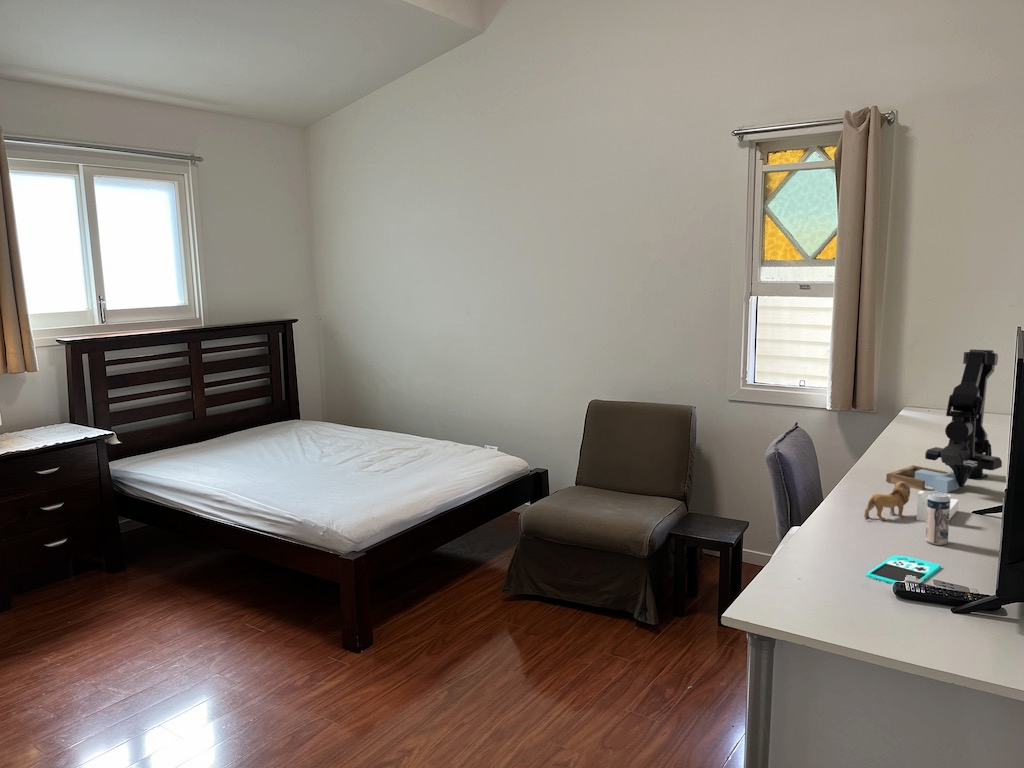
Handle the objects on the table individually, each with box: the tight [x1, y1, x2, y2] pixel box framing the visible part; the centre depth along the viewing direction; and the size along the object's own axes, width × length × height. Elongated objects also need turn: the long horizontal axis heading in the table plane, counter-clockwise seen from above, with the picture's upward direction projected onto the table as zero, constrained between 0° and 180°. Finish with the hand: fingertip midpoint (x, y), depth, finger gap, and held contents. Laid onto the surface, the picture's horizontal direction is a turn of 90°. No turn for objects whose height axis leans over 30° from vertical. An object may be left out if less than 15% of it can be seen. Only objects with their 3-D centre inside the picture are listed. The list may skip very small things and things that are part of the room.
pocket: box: [885, 465, 949, 491], centre depth 229 cm, size 15×11×2 cm
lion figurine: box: [863, 481, 911, 522], centre depth 199 cm, size 15×5×9 cm, turn 113°
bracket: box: [915, 490, 960, 523], centre depth 199 cm, size 13×7×8 cm, turn 139°
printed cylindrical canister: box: [925, 491, 950, 546], centre depth 180 cm, size 5×5×12 cm
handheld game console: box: [865, 555, 942, 585], centre depth 165 cm, size 10×16×1 cm, turn 131°
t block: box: [914, 469, 962, 494], centre depth 224 cm, size 10×11×4 cm
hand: (961, 487), depth 218 cm, fingers closed
